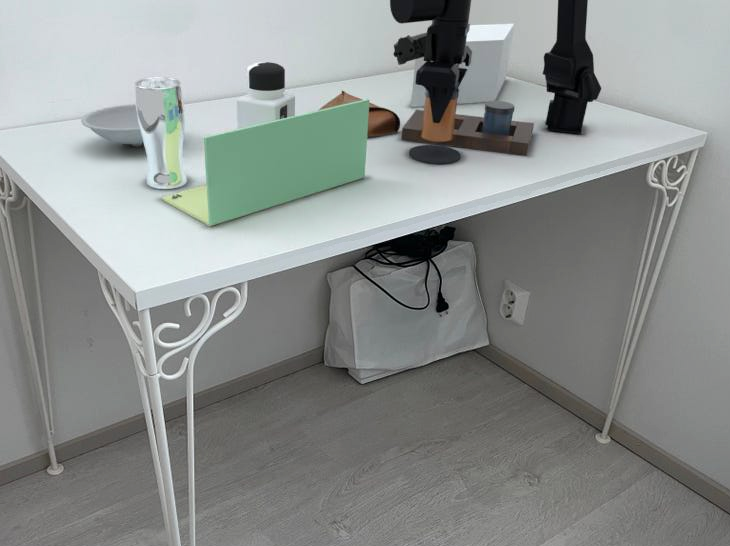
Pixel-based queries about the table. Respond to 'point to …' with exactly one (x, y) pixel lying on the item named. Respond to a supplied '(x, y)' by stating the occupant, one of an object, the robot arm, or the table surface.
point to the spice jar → (498, 117)
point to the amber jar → (446, 125)
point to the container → (264, 96)
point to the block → (478, 65)
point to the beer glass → (162, 130)
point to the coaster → (434, 154)
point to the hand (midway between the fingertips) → (439, 117)
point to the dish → (115, 124)
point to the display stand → (278, 163)
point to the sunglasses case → (371, 116)
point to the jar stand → (474, 134)
